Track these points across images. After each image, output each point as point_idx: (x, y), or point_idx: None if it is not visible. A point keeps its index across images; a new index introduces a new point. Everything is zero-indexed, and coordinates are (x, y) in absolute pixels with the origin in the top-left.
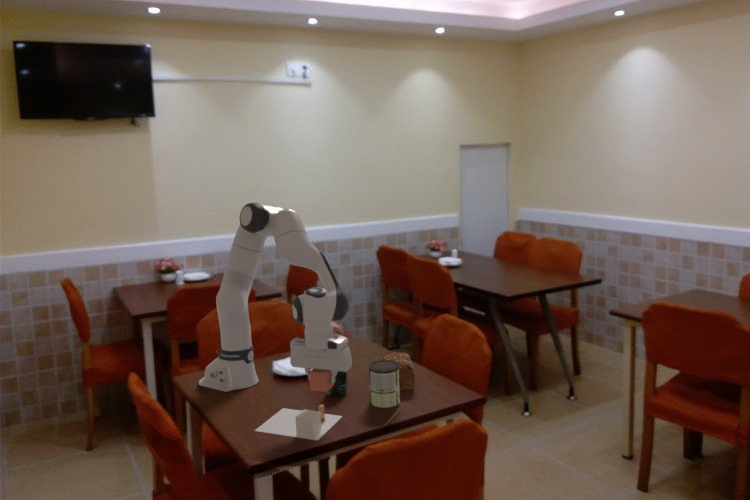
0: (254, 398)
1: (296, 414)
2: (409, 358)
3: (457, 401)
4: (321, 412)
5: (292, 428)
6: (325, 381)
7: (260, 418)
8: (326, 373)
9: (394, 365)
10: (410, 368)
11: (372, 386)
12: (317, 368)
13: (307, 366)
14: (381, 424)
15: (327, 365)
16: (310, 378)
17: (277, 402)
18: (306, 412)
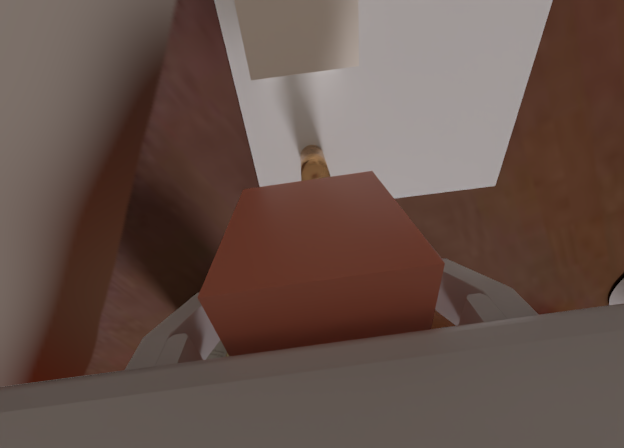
0: (609, 219)
1: (427, 161)
2: None
3: (98, 371)
4: (307, 158)
5: (391, 29)
6: (229, 233)
7: (564, 90)
8: (213, 310)
9: None
10: None
11: (218, 351)
12: (348, 348)
13: (520, 342)
14: (136, 225)
15: (157, 445)
16: (396, 217)
17: (524, 224)
18: (319, 23)
